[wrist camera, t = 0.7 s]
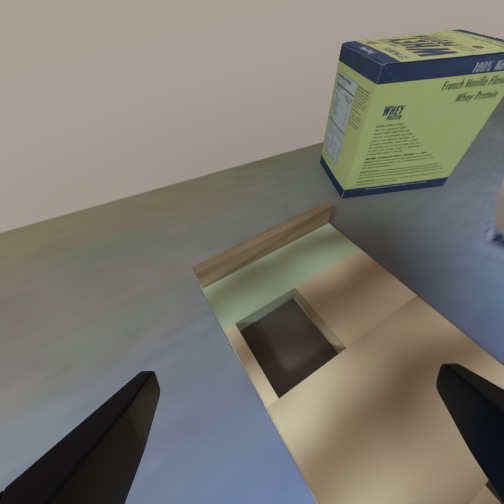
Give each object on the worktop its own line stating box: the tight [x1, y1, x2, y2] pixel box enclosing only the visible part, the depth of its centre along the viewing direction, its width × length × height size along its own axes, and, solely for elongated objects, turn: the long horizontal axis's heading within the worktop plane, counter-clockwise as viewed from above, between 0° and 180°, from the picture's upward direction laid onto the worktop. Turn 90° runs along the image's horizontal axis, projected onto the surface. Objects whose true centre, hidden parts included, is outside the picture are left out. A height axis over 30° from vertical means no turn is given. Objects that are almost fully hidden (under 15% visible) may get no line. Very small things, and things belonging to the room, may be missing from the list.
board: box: [193, 202, 504, 504], centre depth 17 cm, size 30×16×5 cm, turn 31°
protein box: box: [320, 30, 504, 198], centre depth 31 cm, size 10×16×16 cm
